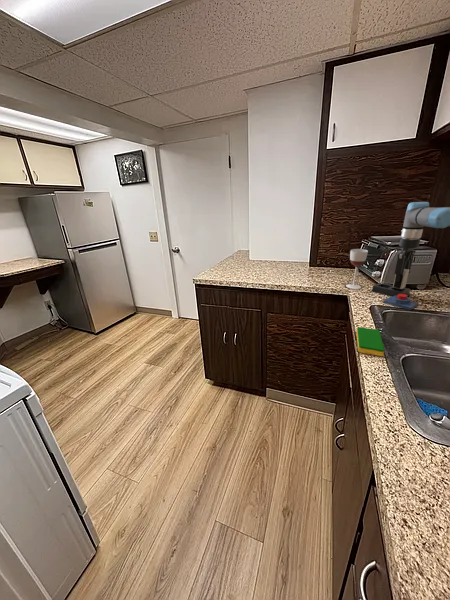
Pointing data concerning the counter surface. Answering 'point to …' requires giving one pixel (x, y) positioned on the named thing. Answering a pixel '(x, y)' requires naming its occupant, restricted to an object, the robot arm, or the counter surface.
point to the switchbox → (401, 302)
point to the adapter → (389, 290)
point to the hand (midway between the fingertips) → (399, 286)
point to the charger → (404, 280)
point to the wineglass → (357, 263)
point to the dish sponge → (369, 341)
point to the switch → (402, 296)
